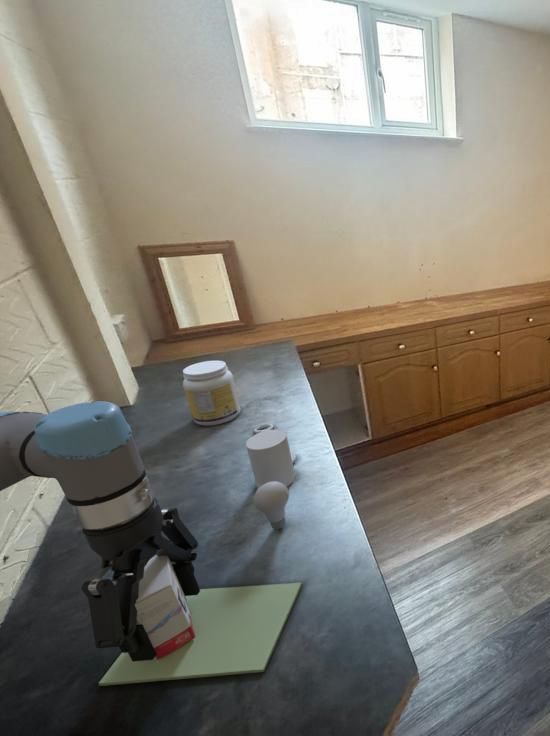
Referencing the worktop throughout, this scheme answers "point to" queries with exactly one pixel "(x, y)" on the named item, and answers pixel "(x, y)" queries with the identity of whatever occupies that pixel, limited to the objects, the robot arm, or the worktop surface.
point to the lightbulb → (272, 502)
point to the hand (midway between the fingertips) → (169, 623)
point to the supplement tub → (211, 393)
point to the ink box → (163, 607)
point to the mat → (219, 636)
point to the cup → (271, 457)
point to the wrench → (257, 430)
